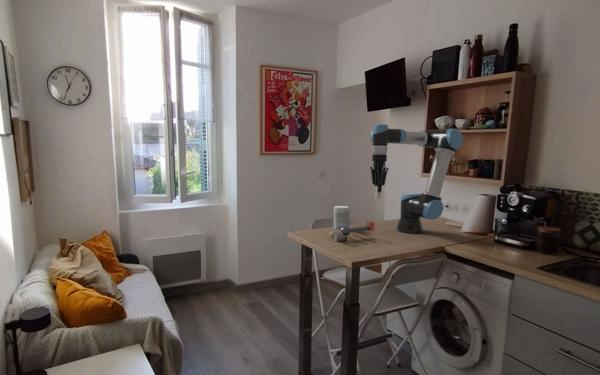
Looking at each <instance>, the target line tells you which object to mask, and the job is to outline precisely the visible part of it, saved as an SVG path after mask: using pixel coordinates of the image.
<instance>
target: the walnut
mask: <svg viewBox="0 0 600 375" xmlns="http://www.w3.org/2000/svg"><path fill="white" fill-rule="evenodd" d="M336 232H340V231H338V230H331V231H329V238H331V239H334V233H336Z"/></svg>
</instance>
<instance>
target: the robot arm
mask: <svg viewBox="0 0 600 375" xmlns="http://www.w3.org/2000/svg"><path fill="white" fill-rule="evenodd" d="M369 137H370V139H369V140H370V141H371V142H372V156H371V160H372V162H373V164H372V165H371V166H370V167H369V169H370V173H371V181H372V182H371V183H372V185H374V198H375V199H381V198H382V190H383V186H385V184H386V180H387V175H388V171H389V167H387V166H386V162H387V161H388V155H387V153H388V144H395V145H396V144H398V145H413V146H414V145H416V146H418V147H422V148H423V147H424V148H429V149H433V150H434V151H435V156H434V158H433V161H432V165H431V168H430V172H429V175H428V179H427V182H426V184H425V185H426V186H425V190H424V191H422V192H421V193H408V194H407V193H406V194H403V195H401V197H400V199H401V200H400V218H399V220H398V224H397V225H396V231H398V232H401V233H406V234H421V233H423V226H422V221H421V218H423V219H426V220H436V219H438V218H440V217H441V216H442V214H443V212H444V203H443V201H442V200H443V199H442V196H441V192H442V188H443V186H444V182H445V180H446V179H445V178H446V176H447V172H448V169H449V165H450V161H451V159H452V156H454V155H455V154H456V151H457V150H459V149H461V147H462V146H463V143H464V137H463V134H462V132H461V131H460V130H459V129H457V128H440V129H438V128H437V129H430V130H420V131H406V130H405V129H403V128H389V125H388V124H386V123H385V124H384V123H383V124H381V123H380V124H379V123H378V124H375V125H373V131H371V133H370V136H369Z"/></svg>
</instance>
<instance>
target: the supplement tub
mask: <svg viewBox="0 0 600 375" xmlns="http://www.w3.org/2000/svg"><path fill="white" fill-rule="evenodd" d="M342 227H347V228H350V207H349V206H347V205H335V206H333V229H335V230H341V228H342Z"/></svg>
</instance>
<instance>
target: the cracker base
mask: <svg viewBox="0 0 600 375" xmlns="http://www.w3.org/2000/svg"><path fill="white" fill-rule="evenodd" d="M326 239H327V240H329V241H332V242H333V243H337V244H340V245H342V246H344V247H348V248H357V247H360V246H366V245H370V244H371V245H372V244H376V243H381V242H383V240H381V239H377V238H375V237H371V236H368V235H365V234H362V233H360V232H355V233H350V234H349V235H347V240H341V241H335V240H334V239H331V238H330V237H328V238H326Z"/></svg>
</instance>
